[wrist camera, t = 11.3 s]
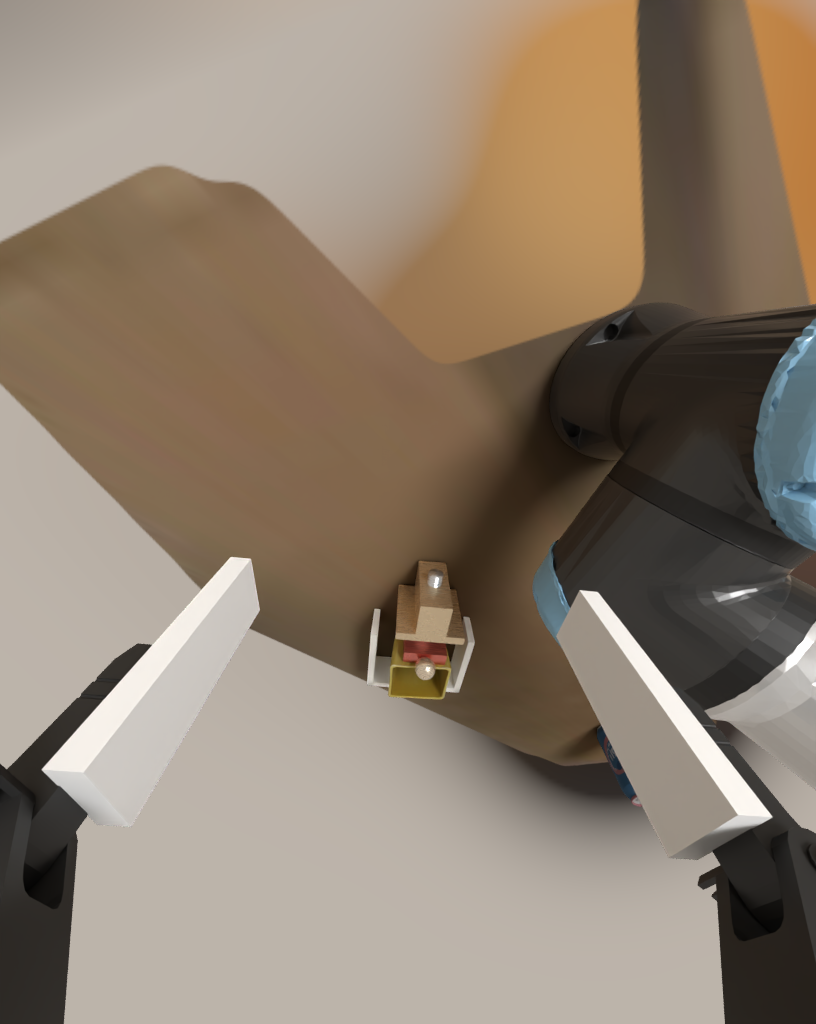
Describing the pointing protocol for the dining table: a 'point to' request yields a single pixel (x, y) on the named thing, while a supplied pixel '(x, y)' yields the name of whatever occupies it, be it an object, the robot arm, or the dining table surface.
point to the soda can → (617, 767)
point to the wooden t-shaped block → (428, 618)
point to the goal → (381, 665)
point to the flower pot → (415, 678)
